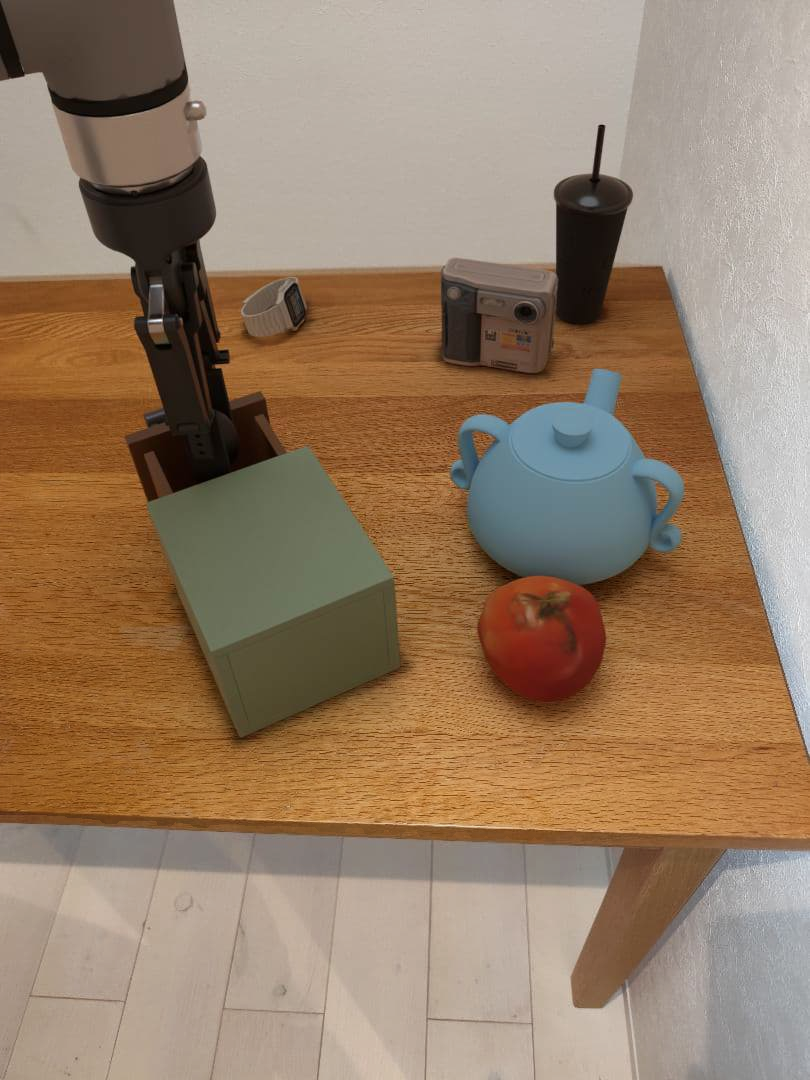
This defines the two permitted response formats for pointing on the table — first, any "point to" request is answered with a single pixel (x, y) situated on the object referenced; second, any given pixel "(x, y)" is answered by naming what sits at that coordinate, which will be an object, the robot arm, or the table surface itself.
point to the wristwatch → (275, 308)
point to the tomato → (542, 637)
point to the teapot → (566, 489)
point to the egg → (229, 436)
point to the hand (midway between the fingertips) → (217, 458)
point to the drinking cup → (587, 238)
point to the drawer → (167, 457)
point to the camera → (497, 315)
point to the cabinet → (279, 587)
